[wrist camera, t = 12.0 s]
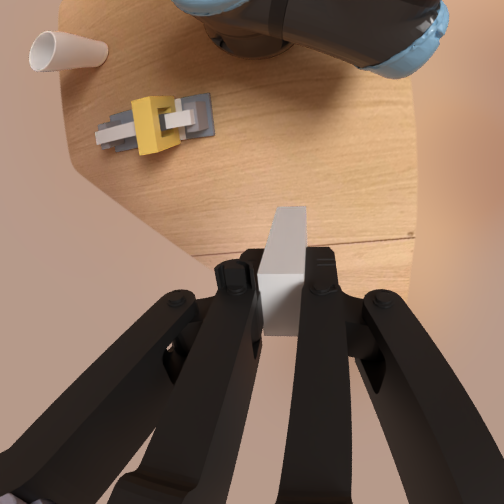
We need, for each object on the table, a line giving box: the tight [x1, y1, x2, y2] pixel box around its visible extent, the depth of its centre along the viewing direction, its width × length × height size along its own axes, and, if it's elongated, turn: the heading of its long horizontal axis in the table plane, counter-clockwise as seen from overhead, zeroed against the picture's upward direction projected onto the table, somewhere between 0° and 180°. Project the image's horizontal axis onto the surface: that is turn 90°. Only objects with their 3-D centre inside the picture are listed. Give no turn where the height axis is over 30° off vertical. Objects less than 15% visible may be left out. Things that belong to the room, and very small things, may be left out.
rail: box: [95, 93, 215, 152], centre depth 43 cm, size 7×19×7 cm, turn 96°
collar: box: [131, 96, 181, 155], centre depth 40 cm, size 8×3×8 cm, turn 6°
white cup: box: [29, 31, 108, 72], centre depth 34 cm, size 7×7×15 cm
